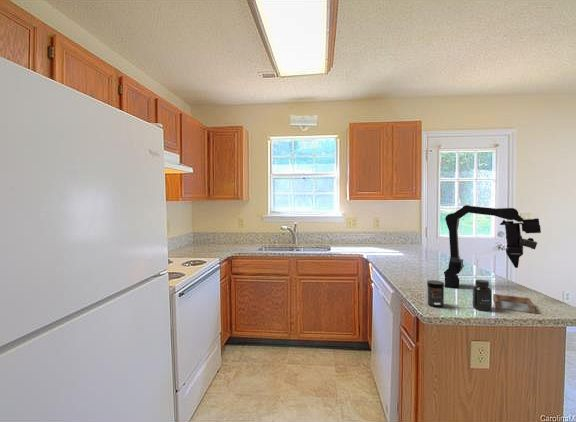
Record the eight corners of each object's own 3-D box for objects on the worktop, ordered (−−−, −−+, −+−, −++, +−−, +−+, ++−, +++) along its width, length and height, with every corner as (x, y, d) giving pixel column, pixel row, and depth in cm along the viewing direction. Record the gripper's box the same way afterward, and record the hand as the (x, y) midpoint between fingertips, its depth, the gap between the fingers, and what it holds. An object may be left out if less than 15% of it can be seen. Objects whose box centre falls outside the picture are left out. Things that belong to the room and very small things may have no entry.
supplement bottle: (485, 312, 121) (485, 283, 121) (469, 307, 127) (469, 280, 127) (495, 309, 124) (495, 281, 124) (478, 304, 130) (478, 278, 130)
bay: (495, 308, 126) (495, 301, 126) (493, 300, 136) (493, 293, 136) (534, 313, 119) (534, 306, 119) (529, 304, 129) (529, 297, 129)
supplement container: (440, 302, 134) (440, 280, 134) (446, 308, 127) (446, 284, 127) (425, 302, 135) (424, 280, 134) (430, 307, 128) (430, 284, 128)
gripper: (535, 235, 129) (539, 270, 129) (534, 231, 144) (537, 263, 143) (504, 235, 136) (507, 269, 136) (506, 232, 151) (509, 262, 150)
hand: (516, 266), depth 141 cm, fingers open, 9 cm apart
